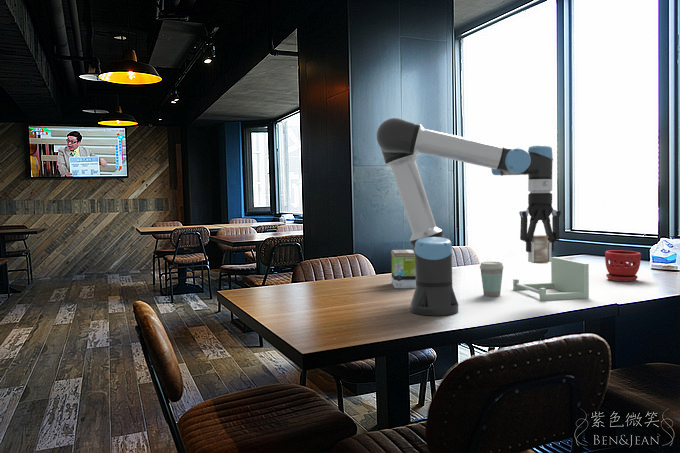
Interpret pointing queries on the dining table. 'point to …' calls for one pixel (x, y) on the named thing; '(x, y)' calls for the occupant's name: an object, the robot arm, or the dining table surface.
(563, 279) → the pale green rack stand
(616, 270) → the plant pot
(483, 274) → the coffee cup
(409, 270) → the tea box
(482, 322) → the dining table surface
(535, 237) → the spool
